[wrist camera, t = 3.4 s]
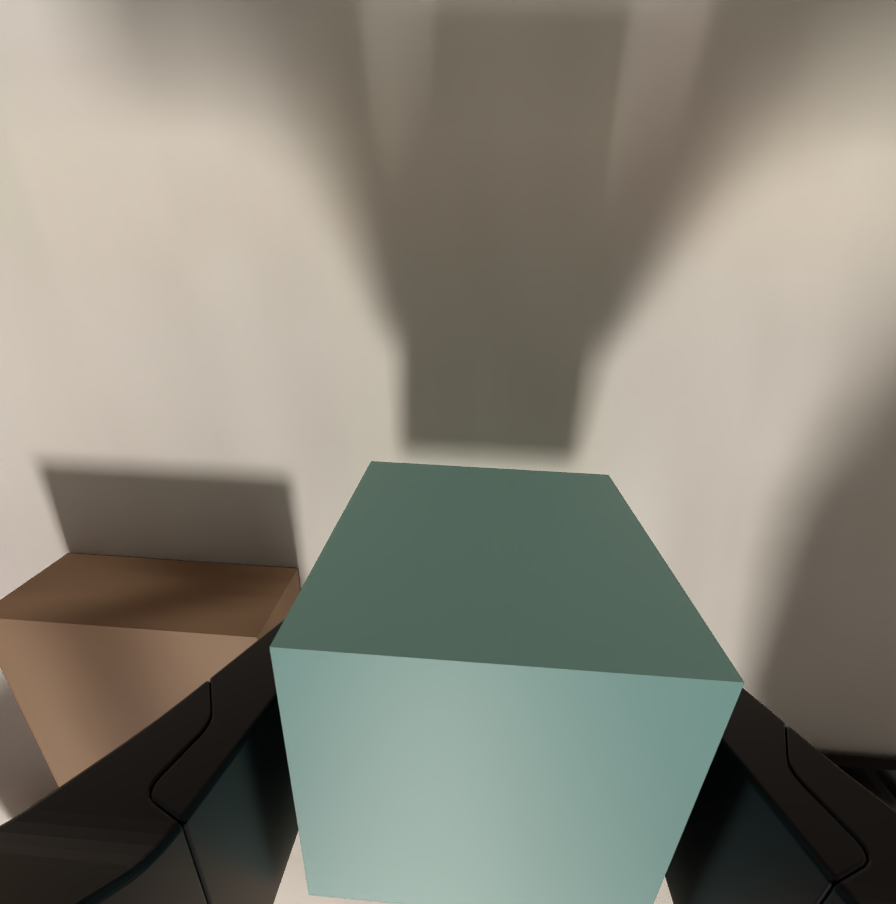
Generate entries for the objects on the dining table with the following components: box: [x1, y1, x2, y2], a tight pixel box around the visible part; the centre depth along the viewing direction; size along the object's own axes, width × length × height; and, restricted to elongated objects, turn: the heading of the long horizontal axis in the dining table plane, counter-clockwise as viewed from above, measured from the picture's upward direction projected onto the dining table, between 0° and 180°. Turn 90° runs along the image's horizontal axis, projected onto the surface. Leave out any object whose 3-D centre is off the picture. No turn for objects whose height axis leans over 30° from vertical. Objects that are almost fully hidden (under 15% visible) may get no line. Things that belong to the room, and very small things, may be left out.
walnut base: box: [0, 553, 300, 787], centre depth 15 cm, size 8×8×3 cm
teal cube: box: [270, 461, 744, 904], centre depth 8 cm, size 5×5×5 cm
